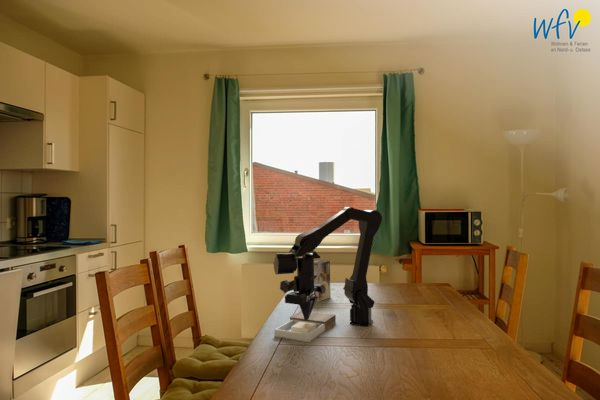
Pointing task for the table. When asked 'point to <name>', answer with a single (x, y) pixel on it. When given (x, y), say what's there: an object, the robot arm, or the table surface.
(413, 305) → the table surface
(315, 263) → the coffee box
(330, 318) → the brown rectangular slab
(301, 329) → the block
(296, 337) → the box
